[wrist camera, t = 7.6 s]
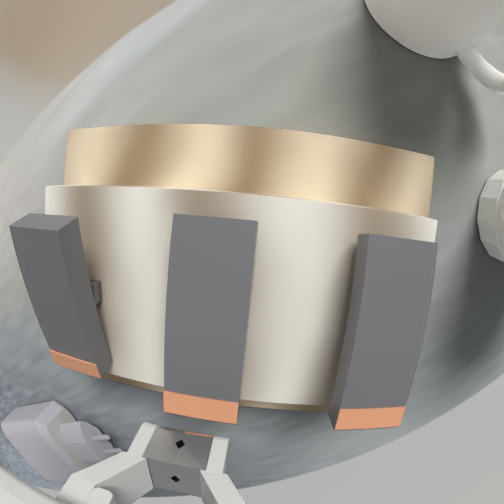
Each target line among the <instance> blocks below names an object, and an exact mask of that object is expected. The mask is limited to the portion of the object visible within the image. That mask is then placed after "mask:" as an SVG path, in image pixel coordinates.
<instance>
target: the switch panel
mask: <svg viewBox="0 0 504 504" xmlns="http://www.w3.org/2000/svg"><path fill="white" fill-rule="evenodd" d="M433 172H434V157H432V156H429V155H425V154H421V153H417V152H413V151H408V150H404V149H400V148H395V147H391V146H386V145H381V144H376V143H371V142H366V141H360V140H355V139H349V138H343V137H337V136H330V135H324V134H316V133H309V132H301V131H292V130H283V129H273V128H261V127H248V126H232V125H208V124H147V125H124V126H108V127H96V128H85V129H75V130H69V133H68V142H67V151H66V162H65V176H64V185H58V186H46V191H45V214H47V215H63V216H78V220H79V226H80V233H81V239H82V244H83V250H84V255H85V260H86V265H87V270H88V275H89V279H90V283H91V288H92V292H93V296H94V300H95V304H96V308H97V311H98V315H99V319H100V322H101V326H102V329H103V333H104V336H105V339H106V342H107V346H108V349H109V352H110V355H111V358H112V361H111V363H110V365H109V366H108V368H107V370H106V372H105V374H104V376H103V378H106V379H110V380H113V381H117V382H121V383H124V384H128V385H132V386H136V387H140V388H144V389H149V390H153V391H157V392H162V393H163V391H164V342H165V314H166V295H167V279H168V265H169V253H170V242H171V231H172V222H173V213H174V214H186V215H198V216H210V217H222V218H233V219H243V220H254V221H258V223H259V224H258V234H257V244H256V253H255V263H254V273H253V283H252V293H251V302H250V312H249V322H248V331H247V341H246V351H245V360H244V370H243V379H242V389H241V398H240V406H249V407H259V408H270V409H283V410H301V411H329V409H330V405H331V400H332V396H333V392H334V387H335V383H336V378H337V373H338V368H339V363H340V358H341V353H342V348H343V342H344V337H345V331H346V325H347V319H348V313H349V306H350V299H351V292H352V285H353V277H354V269H355V260H356V251H357V241H358V234H376V235H384V236H392V237H399V238H406V239H413V240H420V241H427V242H434V241H435V235H436V228H437V221H438V220H435V219H430V218H429V212H430V204H431V195H432V185H433Z"/></svg>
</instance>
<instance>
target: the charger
mask: <svg viewBox="0 0 504 504" xmlns="http://www.w3.org/2000/svg"><path fill="white" fill-rule="evenodd" d="M1 427H2V430H3V432H4V434H5V435H6V437H7V438H8V439H9V441H10V442H11V443H12V444H13V445H14V447H15V448H16V449H17V450H18V451H19V452H20V454H21V455H22V456H23V457H24V458H25V459H26V460H27V461H28V462H29V463H30V465H31V466H32V467H33V468H34V469H35V470H36V471H37V472H38V473H39V474H40V475H41V476H42V477H43V478H45V479H46V480H48V481H52V482H58V483H66V482H67V480H68V479H69V477H70V476H71V474H73V473H76V472H78V471H81V470H83V469H85V468H88V467H90V466H92V465H94V464H97V463H99V462H101V461H103V460H105V459H108V458H110V457H112V456H114V455H116V453H120V452H122V449H121V448H113V446H112V444H111V443H110V442H109V441H108V440H110V436H109V435H108V434H106V435H103V434H102V433H101V432H100V431H99V429H98V428H97V427H95V426H93V425H91V424H89V423H87V422H83V421H79V422H77V421H76V420H75V418H74V417H73V416H72V415H71V413H70V412H69V411H68V410H67V409H66V408H65V407H63V406H62V405H61V404H60V403H58V402H57V401H49V402H44V403H39V404H34V405H29V406H23V407H17V408H15V409H14V410H13V411H12V412H11V413H10V414H9V415H8V416H7V417H6V418H5V419H4V420H3V421H2V423H1Z"/></svg>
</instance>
